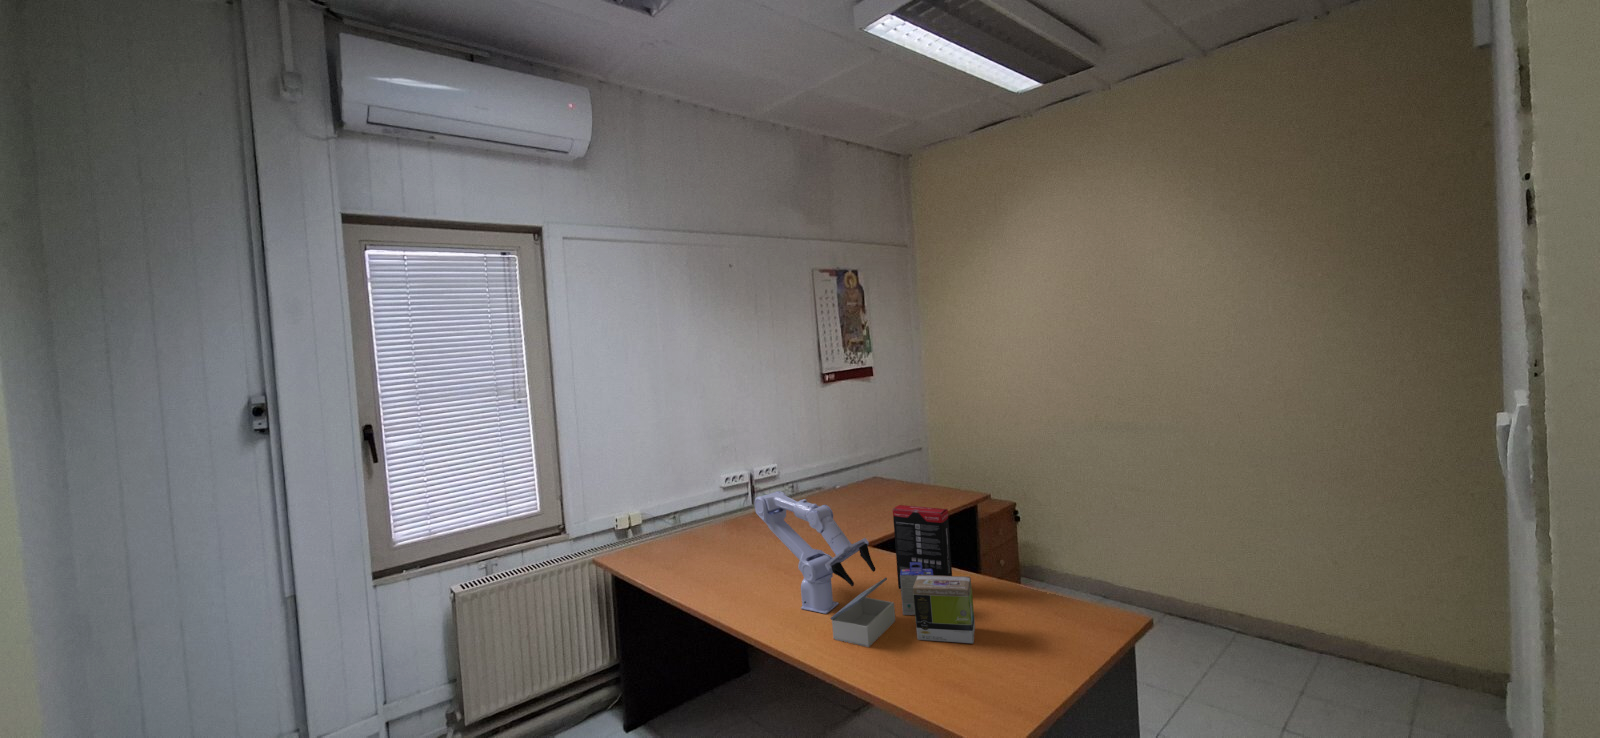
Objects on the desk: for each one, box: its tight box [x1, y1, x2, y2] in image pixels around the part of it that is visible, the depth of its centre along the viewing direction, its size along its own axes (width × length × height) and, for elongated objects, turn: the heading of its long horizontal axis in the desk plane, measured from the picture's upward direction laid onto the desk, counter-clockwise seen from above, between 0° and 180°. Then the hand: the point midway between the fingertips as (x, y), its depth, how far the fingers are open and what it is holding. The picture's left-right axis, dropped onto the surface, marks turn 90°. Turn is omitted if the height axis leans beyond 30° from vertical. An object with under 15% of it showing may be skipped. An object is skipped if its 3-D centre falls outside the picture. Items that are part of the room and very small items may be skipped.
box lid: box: [829, 577, 888, 621], centre depth 172 cm, size 11×17×1 cm
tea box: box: [913, 575, 976, 644], centre depth 165 cm, size 15×10×15 cm, turn 71°
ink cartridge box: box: [900, 562, 933, 616], centre depth 180 cm, size 10×6×14 cm, turn 78°
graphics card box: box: [892, 504, 953, 590], centre depth 195 cm, size 17×7×27 cm, turn 58°
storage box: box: [831, 596, 896, 648], centre depth 171 cm, size 11×17×6 cm, turn 146°
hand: (863, 577), depth 174 cm, fingers open, 7 cm apart
